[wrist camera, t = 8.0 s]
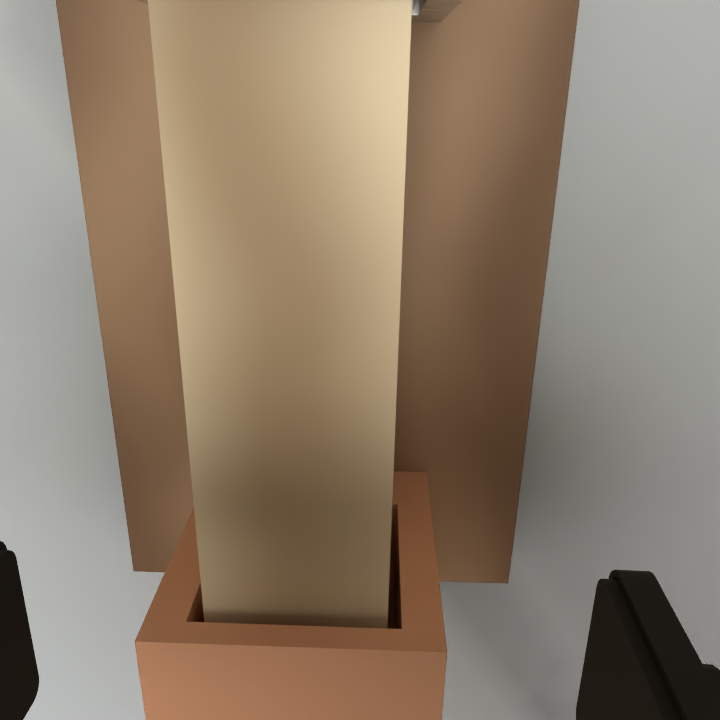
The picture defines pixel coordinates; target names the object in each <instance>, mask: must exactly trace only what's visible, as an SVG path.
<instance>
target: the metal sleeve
mask: <svg viewBox="0 0 720 720" xmlns="http://www.w3.org/2000/svg"><path fill="white" fill-rule="evenodd" d="M135 1H138V2H141V3H144V4H147V5H148V0H135ZM462 1H463V0H412V17H411V21H412V22H441V21H442V20H443V19H445V18H446V17H447V16H448V15H449V14H450V13H451V12H452V11H453V10H454V9H455V8H456V7H457V6H458V5H459V4H460V3H461V2H462Z"/></svg>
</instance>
